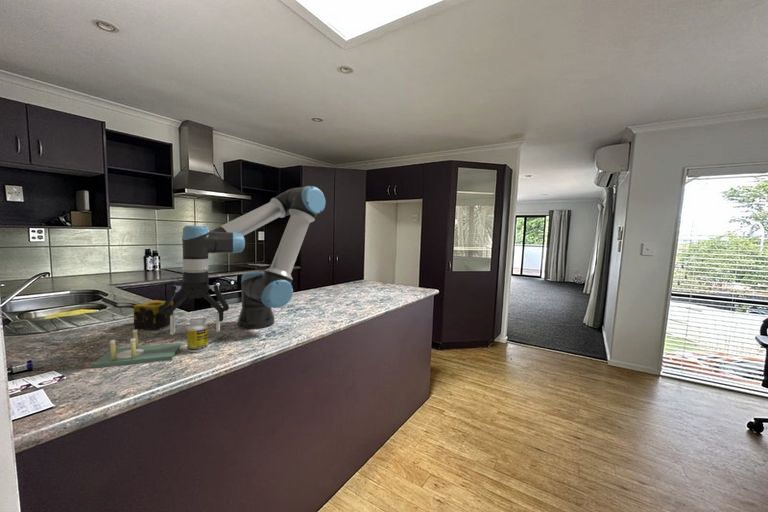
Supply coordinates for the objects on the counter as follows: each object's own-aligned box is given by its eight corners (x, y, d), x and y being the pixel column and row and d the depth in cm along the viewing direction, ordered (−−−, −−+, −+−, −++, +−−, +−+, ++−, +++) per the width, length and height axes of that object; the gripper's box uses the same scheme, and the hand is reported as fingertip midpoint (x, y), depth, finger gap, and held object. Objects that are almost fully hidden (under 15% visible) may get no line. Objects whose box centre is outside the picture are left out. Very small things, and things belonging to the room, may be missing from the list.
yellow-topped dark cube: (154, 322, 135) (154, 299, 135) (175, 323, 134) (174, 301, 133) (133, 329, 125) (132, 305, 125) (155, 331, 124) (154, 306, 123)
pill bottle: (198, 353, 103) (197, 321, 102) (183, 352, 104) (182, 320, 103) (212, 347, 109) (211, 316, 108) (197, 345, 110) (196, 315, 109)
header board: (181, 346, 109) (181, 325, 109) (171, 359, 98) (171, 337, 97) (111, 352, 102) (110, 331, 102) (92, 368, 91) (91, 344, 90)
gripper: (237, 269, 112) (236, 326, 114) (155, 269, 103) (156, 331, 105) (235, 272, 105) (234, 332, 107) (147, 272, 96) (148, 338, 98)
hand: (196, 332), depth 106 cm, fingers open, 13 cm apart
